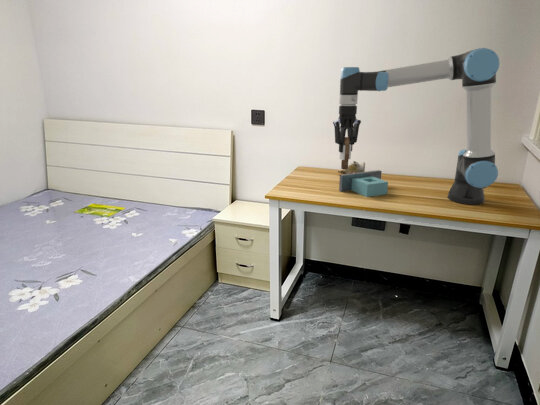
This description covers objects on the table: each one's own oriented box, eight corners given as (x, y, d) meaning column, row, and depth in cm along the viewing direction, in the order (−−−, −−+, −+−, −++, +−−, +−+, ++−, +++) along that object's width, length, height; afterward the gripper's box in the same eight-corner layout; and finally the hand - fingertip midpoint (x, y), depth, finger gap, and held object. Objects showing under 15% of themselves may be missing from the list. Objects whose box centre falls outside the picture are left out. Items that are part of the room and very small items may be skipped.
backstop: (380, 186, 202) (381, 170, 199) (341, 191, 192) (342, 175, 189) (377, 185, 203) (379, 170, 201) (338, 190, 194) (339, 174, 191)
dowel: (349, 168, 177) (351, 137, 172) (343, 169, 175) (345, 138, 171) (345, 167, 179) (346, 136, 175) (339, 168, 178) (341, 137, 174)
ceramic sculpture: (370, 161, 217) (347, 165, 212) (370, 176, 220) (347, 180, 215) (359, 157, 227) (336, 161, 221) (358, 172, 229) (336, 176, 224)
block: (386, 194, 189) (388, 181, 187) (366, 197, 184) (367, 184, 182) (371, 187, 199) (372, 176, 197) (351, 190, 194) (352, 178, 193)
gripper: (338, 106, 162) (335, 162, 170) (368, 105, 169) (364, 159, 176) (327, 105, 169) (325, 159, 176) (357, 103, 175) (354, 156, 182)
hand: (345, 159), depth 176 cm, fingers closed on dowel, 2 cm apart
